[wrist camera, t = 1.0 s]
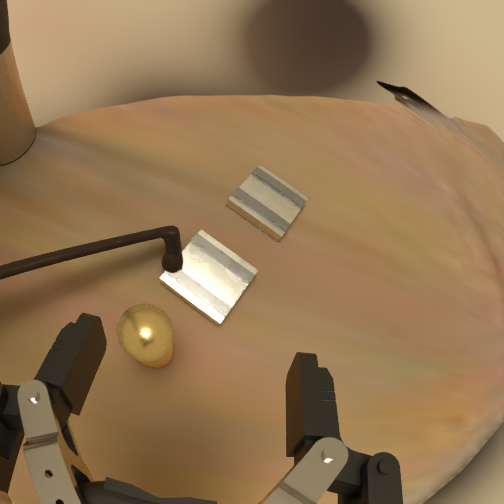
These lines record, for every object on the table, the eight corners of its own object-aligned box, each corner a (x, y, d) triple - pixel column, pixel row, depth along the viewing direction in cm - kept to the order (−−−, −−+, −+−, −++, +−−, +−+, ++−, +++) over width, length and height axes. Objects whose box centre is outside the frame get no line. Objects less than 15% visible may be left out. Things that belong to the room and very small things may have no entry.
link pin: (128, 351, 30) (105, 335, 19) (150, 323, 32) (140, 292, 21) (158, 375, 30) (151, 372, 19) (180, 345, 31) (185, 327, 21)
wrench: (172, 262, 36) (-62, 324, 18) (168, 219, 34) (-77, 279, 17) (193, 276, 32) (-72, 348, 15) (189, 228, 30) (-92, 298, 13)
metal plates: (160, 282, 34) (159, 276, 32) (257, 171, 43) (260, 163, 41) (218, 325, 33) (220, 322, 32) (304, 204, 43) (309, 197, 41)
